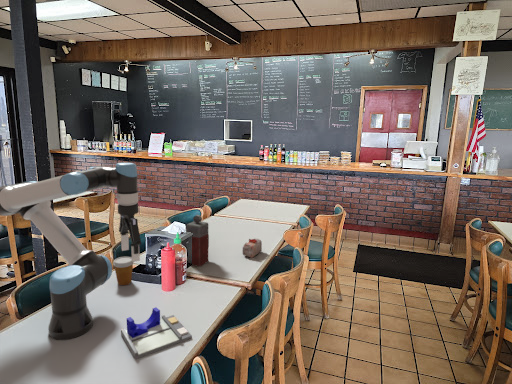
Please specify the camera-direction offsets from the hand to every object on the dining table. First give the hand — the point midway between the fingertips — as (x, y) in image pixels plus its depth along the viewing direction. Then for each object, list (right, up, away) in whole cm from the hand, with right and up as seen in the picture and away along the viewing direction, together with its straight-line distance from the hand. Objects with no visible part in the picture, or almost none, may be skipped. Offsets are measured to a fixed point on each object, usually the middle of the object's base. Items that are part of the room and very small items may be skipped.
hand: (130, 255), depth 138 cm
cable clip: (+7, -27, -5) cm, 29 cm away
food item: (+47, -13, +76) cm, 91 cm away
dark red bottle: (+17, -15, +63) cm, 67 cm away
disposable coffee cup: (-15, -20, +35) cm, 43 cm away
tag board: (+12, -29, -7) cm, 32 cm away
